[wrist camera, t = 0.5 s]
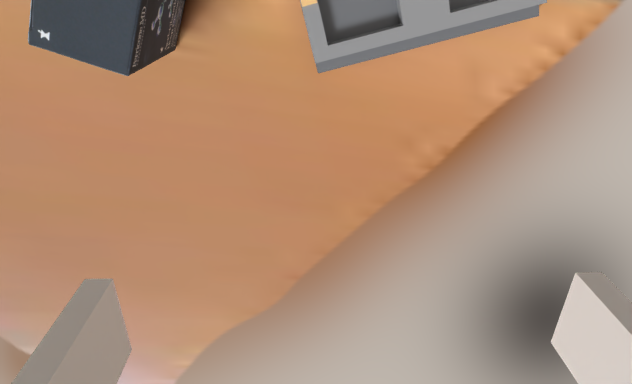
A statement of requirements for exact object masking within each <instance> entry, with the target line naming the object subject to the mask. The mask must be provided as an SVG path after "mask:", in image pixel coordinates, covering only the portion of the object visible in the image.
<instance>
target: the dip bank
mask: <svg viewBox="0 0 632 384" xmlns="http://www.w3.org/2000/svg"><path fill="white" fill-rule="evenodd" d="M300 3H301V7H302V11H303V15H304V19H305V23H306V27H307V31H308V35H309V39H310V43H311V48H312V52H313V56H314V60H315V63H316V67H317V71H318V73H321V72H325V71H329V70H333V69H337V68H341V67H344V66H348V65H352V64H356V63H360V62H364V61H367V60H371V59H375V58H379V57H383V56H387V55H390V54H394V53H398V52H402V51H406V50H410V49H414V48H417V47H421V46H425V45H429V44H433V43H437V42H440V41H444V40H448V39H452V38H456V37H460V36H463V35H467V34H471V33H475V32H479V31H483V30H486V29H490V28H494V27H498V26H502V25H506V24H510V23H513V22H517V21H521V20H525V19H529V18H533V17H536V16H539V5H540V4H543V3H547V0H300Z"/></svg>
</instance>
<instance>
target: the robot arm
mask: <svg viewBox="0 0 632 384" xmlns="http://www.w3.org/2000/svg"><path fill="white" fill-rule="evenodd" d="M551 343H552V345H553V346H554V348H555V349H556V351H557V352H558V354H559V355H560V357H561V358H562V360H563V361H564V363H565V364H566V366H567V367H568V369H569V370H570V372H571V373H572V375H573V376H574V378H575V379H576V381H577V382H578V384H632V302H631V301H630V300H629V299H628V298H627V297H626V296H625V295H624V294H623V293H622V292H621V291H620V290H619V289H618V288H617V287H616V286H615V285H614V284H613V283H612V282H611V281H610V280H609V279H608V278H607V277H606V276H605V275H604V274H603V273H602V272H583V273H575V276H574V278H573V282H572V284H571V287H570V290H569V293H568V295H567V298H566V301H565V304H564V307H563V309H562V312H561V315H560V318H559V321H558V324H557V326H556V329H555V332H554V335H553V338H552V340H551ZM131 350H132V348H131V345H130V341H129V337H128V333H127V330H126V326H125V322H124V319H123V315H122V311H121V307H120V304H119V300H118V296H117V293H116V289H115V285H114V282H113V279H85V280H84V281H83V282H82V284H81V285H80V287H79V288H78V290H77V291H76V292H75V294H74V295H73V297H72V298H71V300H70V301H69V302H68V304H67V305H66V307H65V308H64V309H63V311H62V312H61V314H60V315H59V317H58V318H57V319H56V321H55V322H54V324H53V325H52V326H51V328H50V329H49V331H48V332H47V334H46V335H45V336H44V338H43V339H42V341H41V342H40V344H39V345H38V346H37V348H36V349H35V351H34V352H33V353H32V355H31V356H30V358H29V359H28V361H27V362H26V363H25V365H24V366H23V368H22V369H21V370H20V372H19V373H18V375H17V376H16V378H15V379H14V380H13V382H12V383H11V384H117V382H118V379H119V377H120V375H121V373H122V370H123V368H124V366H125V364H126V362H127V359H128V357H129V355H130V353H131Z"/></svg>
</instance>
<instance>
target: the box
mask: <svg viewBox="0 0 632 384" xmlns="http://www.w3.org/2000/svg"><path fill="white" fill-rule="evenodd" d="M184 4H185V0H31V10H30V23H29V32H28V43H29V44H30V45H32V46H36V47H39V48H42V49H45V50H48V51H51V52H55V53H58V54H61V55H64V56H67V57H70V58H73V59H76V60H79V61H82V62H85V63H88V64H91V65H94V66H97V67H100V68H103V69H106V70H110V71H113V72H116V73H119V74H122V75H125V76H129V75H130V74H132V73H135V72H136V71H138V70H140V69H142V68H144V67H146V66H147V65H149V64H151V63H153V62H154V61H156V60H158V59H160V58H161V57H163V56H165V55H167V54H168V53H170V52H172V51H174V50H175V49H176V43H177V39H178V33H179V28H180V24H181V19H182V13H183V9H184Z"/></svg>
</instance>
